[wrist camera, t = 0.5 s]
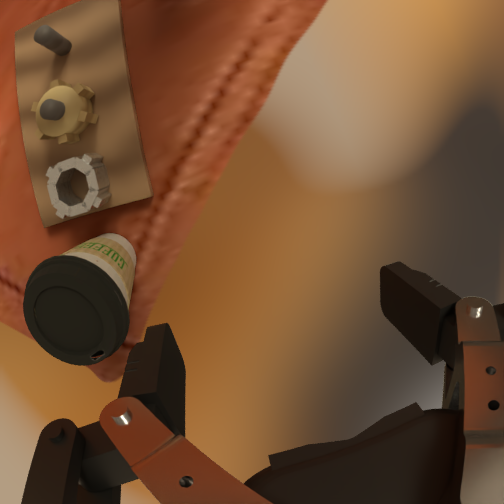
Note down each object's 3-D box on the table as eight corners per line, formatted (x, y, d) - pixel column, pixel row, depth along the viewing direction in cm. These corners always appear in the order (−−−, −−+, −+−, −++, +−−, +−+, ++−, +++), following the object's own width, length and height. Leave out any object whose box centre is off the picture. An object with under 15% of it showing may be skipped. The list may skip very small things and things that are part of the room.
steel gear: (58, 165, 29) (43, 168, 26) (102, 150, 30) (90, 151, 26) (70, 213, 31) (56, 221, 27) (113, 200, 32) (103, 207, 28)
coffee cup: (117, 200, 33) (65, 237, 19) (167, 267, 37) (150, 339, 23) (60, 249, 34) (-1, 305, 20) (109, 308, 37) (74, 386, 23)
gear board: (20, 34, 24) (-10, 19, 17) (119, -7, 25) (104, -36, 18) (49, 224, 32) (19, 243, 25) (153, 194, 34) (141, 207, 27)
